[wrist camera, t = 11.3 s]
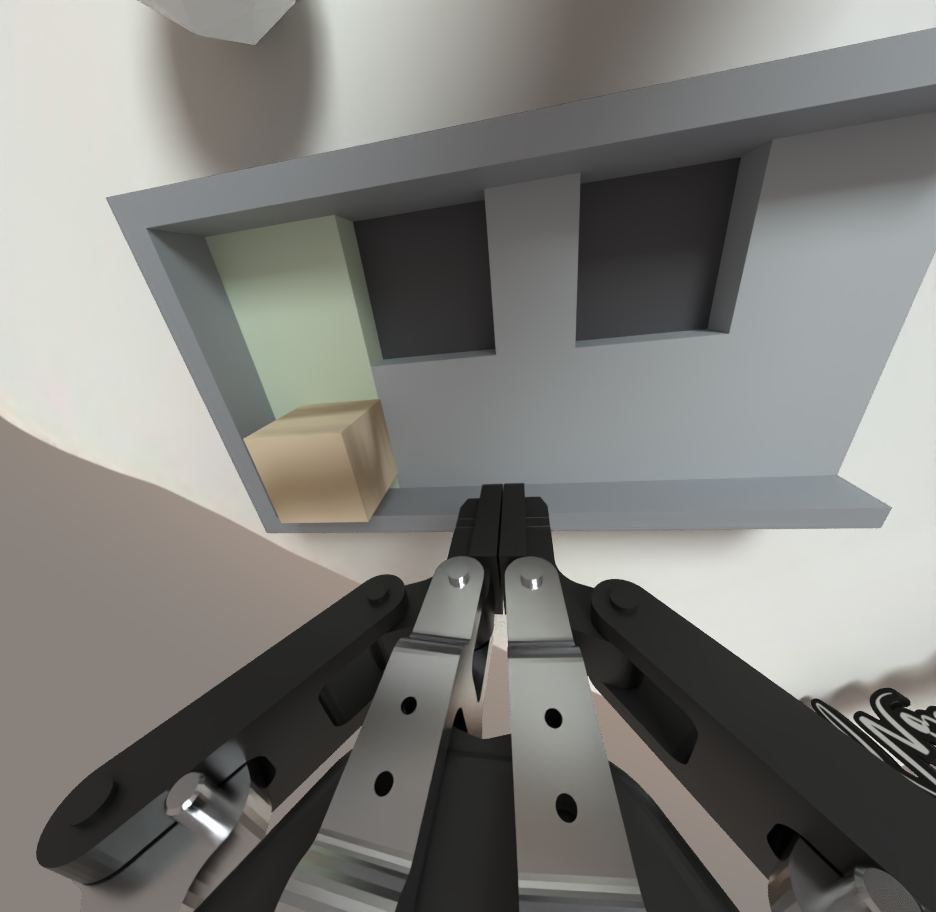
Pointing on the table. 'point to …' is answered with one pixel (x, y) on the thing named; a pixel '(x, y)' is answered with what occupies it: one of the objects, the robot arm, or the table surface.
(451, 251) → the box
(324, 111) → the table surface
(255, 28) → the geometric ball
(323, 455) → the maple block
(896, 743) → the nameplate
